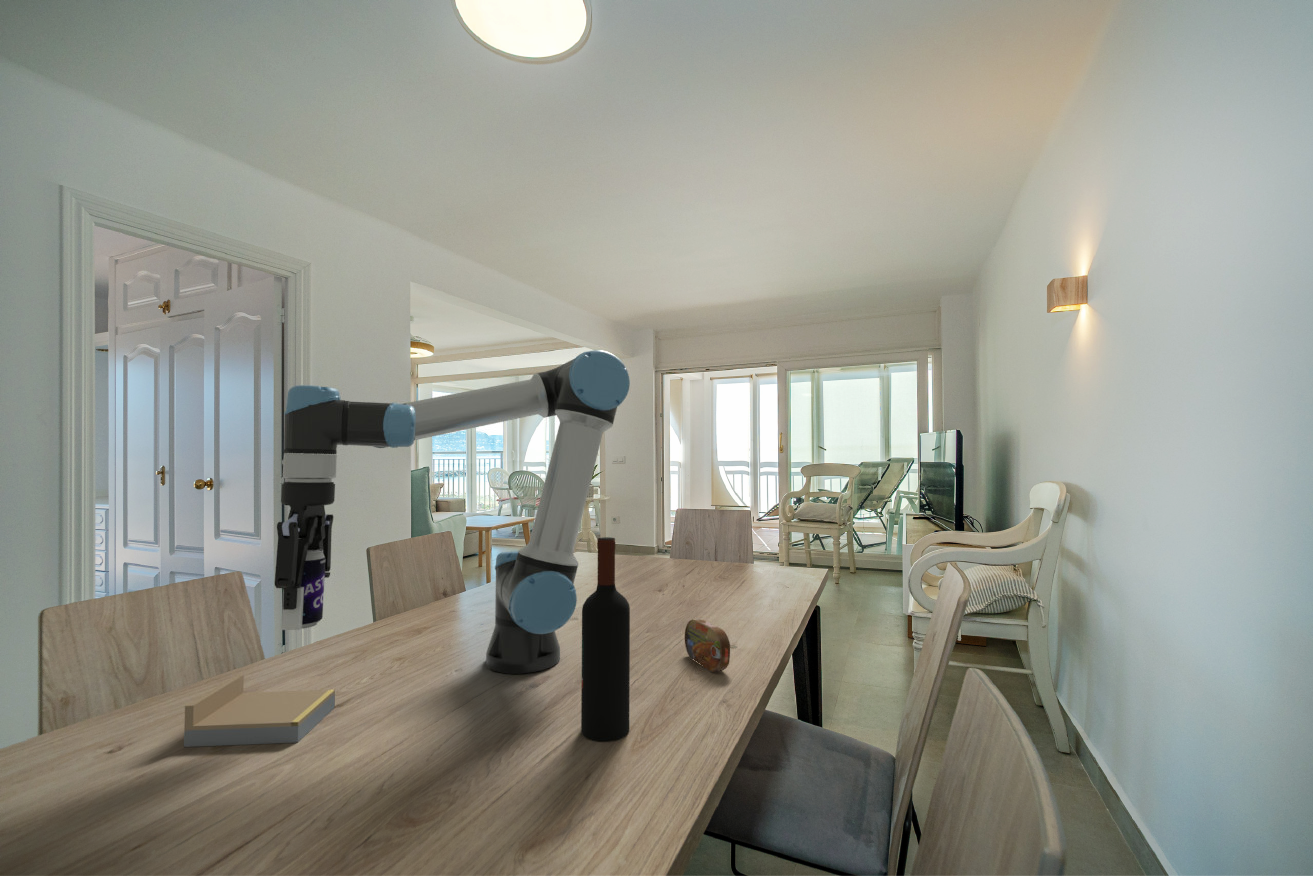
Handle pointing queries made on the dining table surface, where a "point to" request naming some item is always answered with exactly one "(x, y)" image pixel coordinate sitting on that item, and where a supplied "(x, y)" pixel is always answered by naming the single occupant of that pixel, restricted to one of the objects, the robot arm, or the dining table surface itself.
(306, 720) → the dock
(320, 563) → the beverage can
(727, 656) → the tin
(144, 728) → the dining table surface
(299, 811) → the dining table surface
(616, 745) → the dining table surface
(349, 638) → the dining table surface
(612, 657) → the wine bottle
